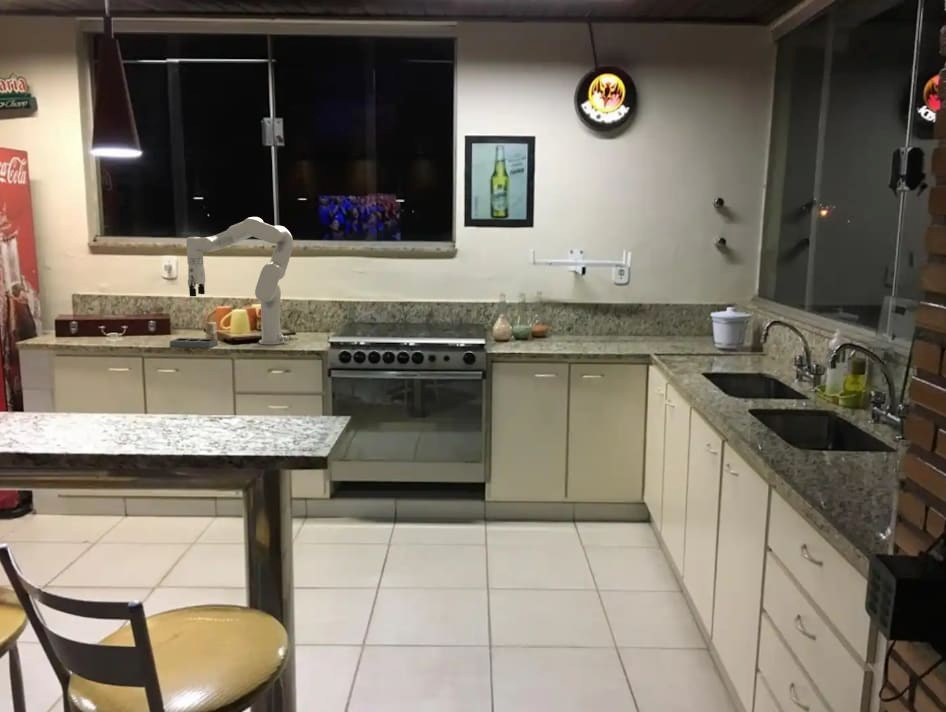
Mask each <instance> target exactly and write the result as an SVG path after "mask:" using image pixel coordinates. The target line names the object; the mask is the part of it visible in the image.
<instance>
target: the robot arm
mask: <svg viewBox="0 0 946 712" xmlns="http://www.w3.org/2000/svg"><path fill="white" fill-rule="evenodd" d="M251 237H254V238H256V239H258V240H261V241H264V242H266V243H269V244H275V248H274V250H273V252H272V256H271V257H270V261H269V262H268V263H266V264H265V265H264V266H263V267H262V268H261V271H260V274H259V277H258V280H257V283H256V286H255V288H254V291H255V292H254V295H255V297H256V299H257V300H258V301H259V302H260V323H261V339H259V340H258V344H261V345H265V346H266V345H267V346H271V345H281V344H284V343H285V341H289V340H290V339H289V338H290V336H288V335H284V334H283V332H281V331H282V330H281V328H282V327H281V326H282V325H281V288H280V285H279V284H278V283H279V281H281V280H282V279H283V278H284V277H285V275H286V272H287V268H288V266H289V265H288V264H289V262H290V260H291V259H290V258H291V256H292V251H293V249H294V240H293V236H292V234H291V232H290V231H289V230H288V229H287V228H286V227H285V226H282V225H271V224H269V223H266V222H264V220H263V219H262V218H260V217H258V216H251V217H247V218H245V219H244V220H243V221H241V222H238V223H235V224H233V225H231V226H229V227H228V228H227V229H226V230H225V231H222V232H220V233H218V234H215V235H211V236H205V237H200V236H188V237H187V238H186V241H185V242H186V255H187V256H186V258H187V265H188V269H187V270H188V271H187V272H188V273H187V278H188V280H187V286H188V289H189V290H188V291H189V297H197V292H198V295H205V294H206V293H205V283H206V273H205V271H206V270H205V267H204V253H211V252H212V253H213V252H216V251H219V250H222V249H224V248H227V247H229V246H231V245H233V244H237V243H240V242H241V241H245V240H247V239H249V238H251ZM197 285H198V286H197ZM196 286H197V288H196Z"/></svg>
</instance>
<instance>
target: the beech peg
mask: <svg viewBox="0 0 946 712" xmlns="http://www.w3.org/2000/svg"><path fill="white" fill-rule="evenodd" d="M217 326H218V325H217V322H216V321H208V322H205V334H206V335H205V339H217V340H218V327H217Z"/></svg>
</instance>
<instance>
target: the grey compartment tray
mask: <svg viewBox="0 0 946 712" xmlns="http://www.w3.org/2000/svg"><path fill="white" fill-rule="evenodd" d="M218 345H219V341H218V338H217V339H206V338H201V337H199V338H196V337H177V338H175V339H172V340H170V341H169V348H179V349H180V348H181V349H183V348H185V349H211V348H214V347H217V346H218Z"/></svg>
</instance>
